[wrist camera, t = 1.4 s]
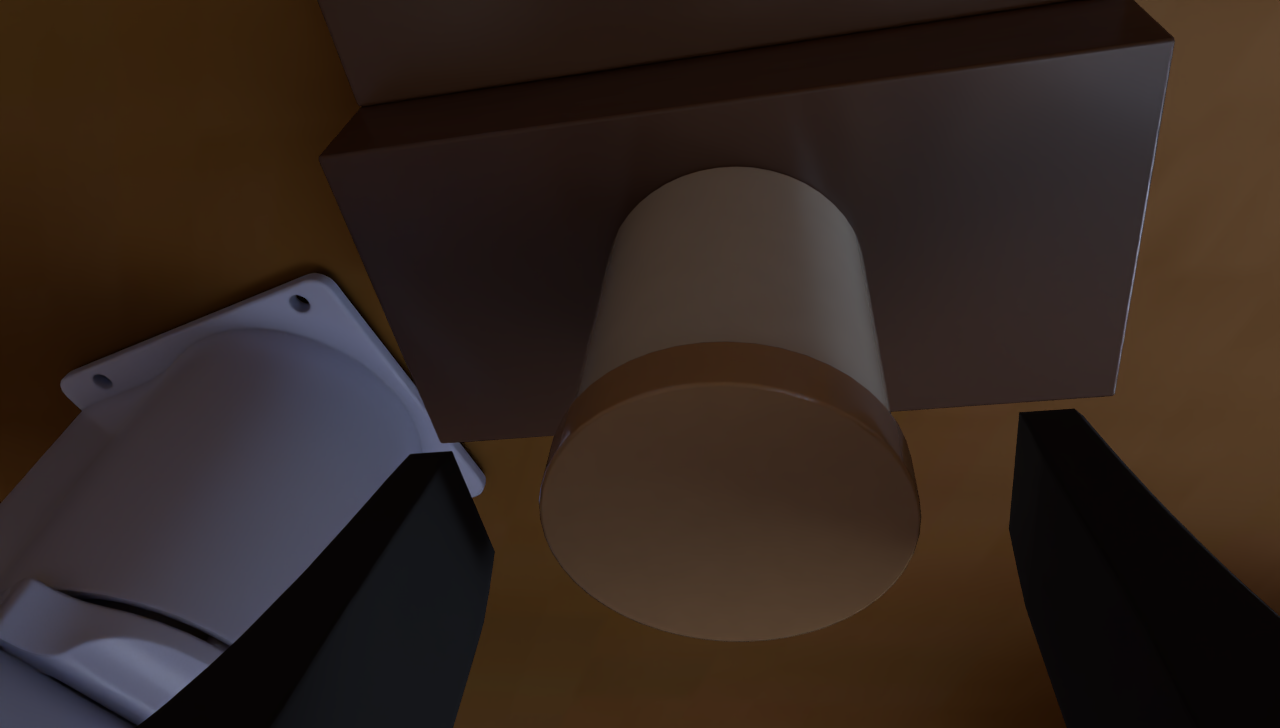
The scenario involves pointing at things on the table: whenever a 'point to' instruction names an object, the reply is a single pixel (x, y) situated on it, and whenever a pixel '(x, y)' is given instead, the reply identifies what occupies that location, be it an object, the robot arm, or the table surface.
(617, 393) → the jar
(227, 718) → the robot arm
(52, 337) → the table surface
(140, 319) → the table surface
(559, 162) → the step shelf
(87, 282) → the table surface
